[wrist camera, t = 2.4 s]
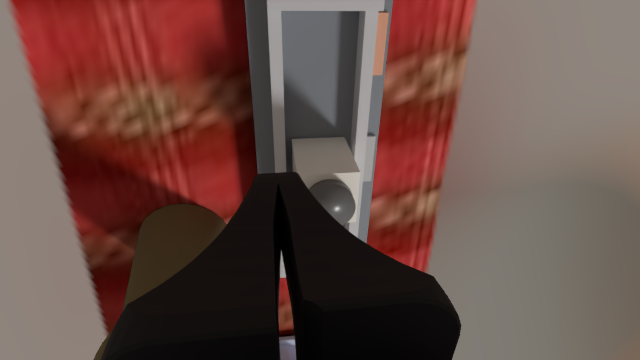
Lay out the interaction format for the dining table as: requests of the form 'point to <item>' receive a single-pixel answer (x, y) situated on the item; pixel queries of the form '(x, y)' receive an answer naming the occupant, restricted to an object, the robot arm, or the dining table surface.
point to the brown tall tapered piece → (168, 247)
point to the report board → (318, 82)
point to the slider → (329, 174)
